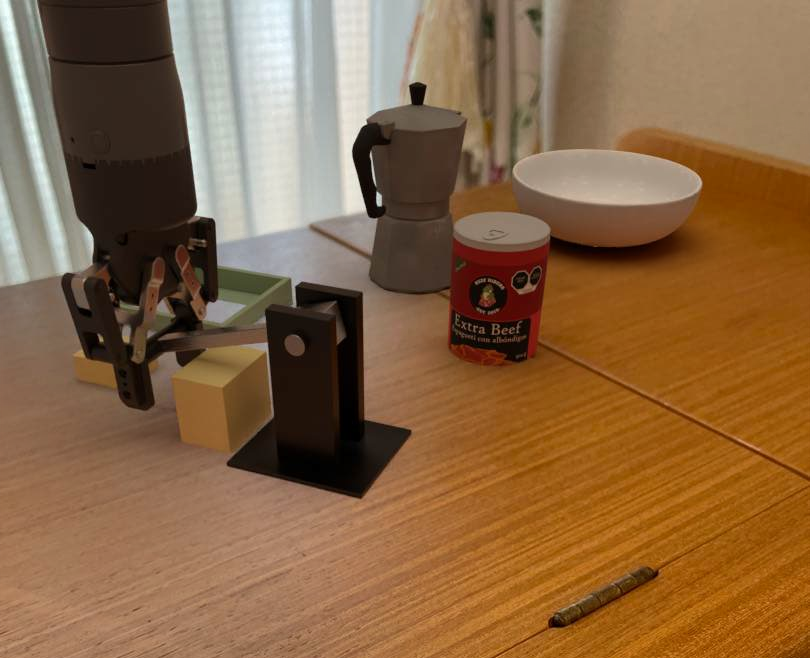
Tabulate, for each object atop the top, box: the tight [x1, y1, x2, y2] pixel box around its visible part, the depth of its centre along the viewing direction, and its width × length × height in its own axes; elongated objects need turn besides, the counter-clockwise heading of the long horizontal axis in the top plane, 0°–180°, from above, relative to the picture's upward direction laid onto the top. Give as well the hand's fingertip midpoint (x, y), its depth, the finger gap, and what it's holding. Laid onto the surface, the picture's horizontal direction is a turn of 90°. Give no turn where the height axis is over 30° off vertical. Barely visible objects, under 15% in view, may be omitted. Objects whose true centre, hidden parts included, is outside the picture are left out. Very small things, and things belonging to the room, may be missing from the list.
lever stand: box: [226, 280, 413, 500], centre depth 58 cm, size 10×9×12 cm
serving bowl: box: [511, 148, 703, 248], centre depth 99 cm, size 21×21×7 cm
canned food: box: [447, 211, 551, 367], centre depth 72 cm, size 8×8×11 cm
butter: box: [170, 345, 273, 454], centre depth 62 cm, size 4×6×6 cm, turn 158°
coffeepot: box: [351, 81, 468, 294], centre depth 83 cm, size 15×9×18 cm, turn 142°
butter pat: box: [72, 335, 160, 390], centre depth 69 cm, size 4×4×3 cm
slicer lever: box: [144, 301, 347, 364], centre depth 58 cm, size 15×6×2 cm, turn 68°
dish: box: [120, 264, 294, 332], centre depth 80 cm, size 13×12×2 cm
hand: (166, 385), depth 63 cm, fingers closed on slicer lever, 6 cm apart
